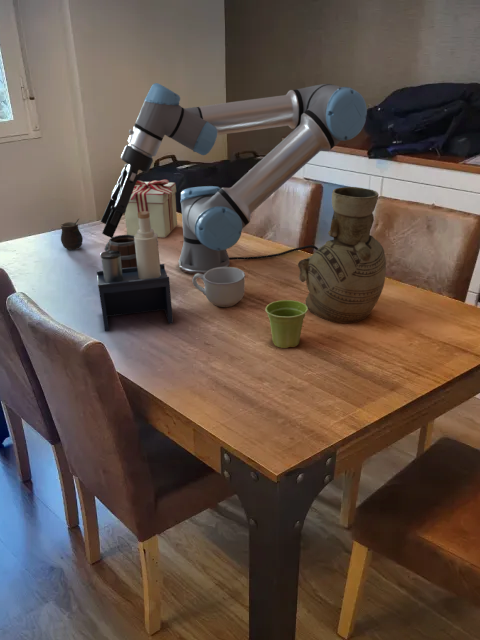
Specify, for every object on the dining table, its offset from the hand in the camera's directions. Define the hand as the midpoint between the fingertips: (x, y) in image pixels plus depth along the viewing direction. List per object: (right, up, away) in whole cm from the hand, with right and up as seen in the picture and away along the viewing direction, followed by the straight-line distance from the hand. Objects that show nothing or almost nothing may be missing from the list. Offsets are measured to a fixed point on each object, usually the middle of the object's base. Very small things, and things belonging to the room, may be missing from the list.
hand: (106, 229), depth 165 cm
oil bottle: (+12, -14, -9) cm, 21 cm away
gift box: (+7, +17, +58) cm, 61 cm away
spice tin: (+4, -16, -10) cm, 19 cm away
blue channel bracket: (+9, -24, -3) cm, 26 cm away
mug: (+3, -13, +14) cm, 19 cm away
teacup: (+30, -18, +4) cm, 35 cm away
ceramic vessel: (+60, -23, -6) cm, 65 cm away
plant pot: (+45, -32, -18) cm, 58 cm away
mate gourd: (-18, +8, +47) cm, 51 cm away
